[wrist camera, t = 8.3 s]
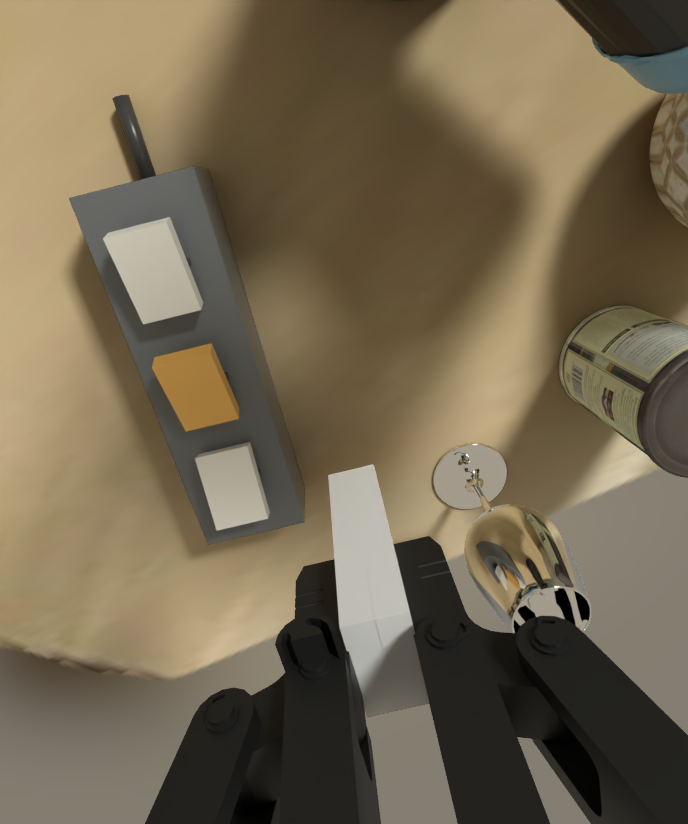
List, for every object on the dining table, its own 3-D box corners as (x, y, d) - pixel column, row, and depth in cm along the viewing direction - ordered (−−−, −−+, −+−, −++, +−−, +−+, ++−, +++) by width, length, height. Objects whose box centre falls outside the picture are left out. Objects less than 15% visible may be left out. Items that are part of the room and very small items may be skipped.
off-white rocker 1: (108, 232, 37) (102, 238, 36) (169, 216, 37) (166, 222, 36) (146, 316, 41) (143, 324, 39) (203, 302, 40) (201, 309, 39)
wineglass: (464, 427, 53) (549, 553, 34) (523, 465, 55) (632, 604, 36) (416, 486, 55) (471, 635, 36) (474, 521, 57) (554, 678, 38)
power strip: (66, 115, 41) (21, 100, 34) (182, 84, 41) (159, 64, 34) (216, 509, 54) (204, 551, 48) (304, 488, 54) (304, 527, 48)
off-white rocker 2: (198, 453, 45) (194, 458, 44) (249, 441, 45) (247, 445, 44) (220, 524, 46) (216, 530, 45) (269, 512, 46) (267, 518, 45)
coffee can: (683, 364, 52) (809, 421, 39) (590, 428, 54) (681, 503, 41) (634, 279, 48) (755, 311, 35) (537, 351, 50) (618, 406, 37)
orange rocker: (154, 357, 40) (151, 367, 39) (211, 343, 40) (210, 353, 39) (187, 420, 44) (185, 431, 43) (239, 407, 44) (238, 418, 43)
